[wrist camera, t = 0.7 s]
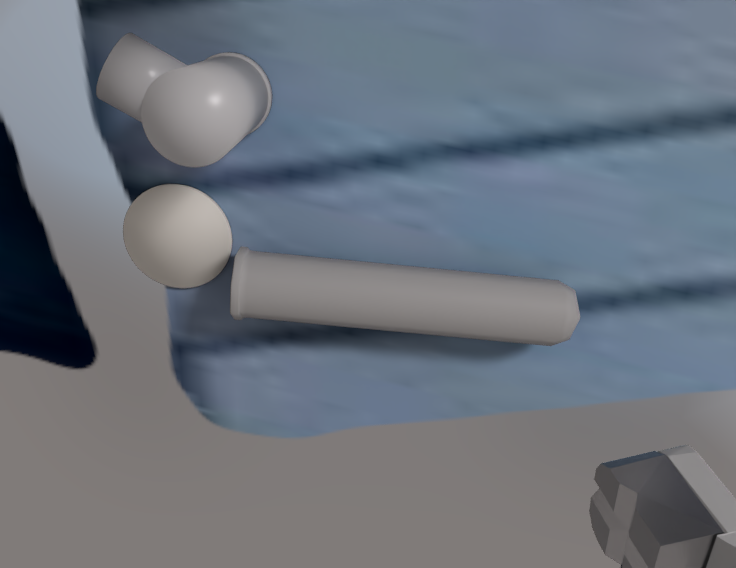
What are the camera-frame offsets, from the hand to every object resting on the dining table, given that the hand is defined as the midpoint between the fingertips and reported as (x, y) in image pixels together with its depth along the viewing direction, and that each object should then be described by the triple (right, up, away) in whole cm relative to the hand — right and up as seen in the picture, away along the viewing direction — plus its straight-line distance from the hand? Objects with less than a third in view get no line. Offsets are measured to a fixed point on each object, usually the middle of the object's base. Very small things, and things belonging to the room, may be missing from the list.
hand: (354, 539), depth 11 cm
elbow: (-10, +18, +36) cm, 41 cm away
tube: (+3, +4, +41) cm, 42 cm away
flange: (-14, +8, +40) cm, 43 cm away
